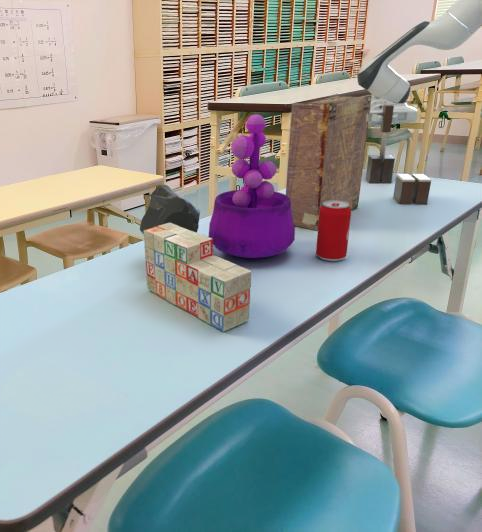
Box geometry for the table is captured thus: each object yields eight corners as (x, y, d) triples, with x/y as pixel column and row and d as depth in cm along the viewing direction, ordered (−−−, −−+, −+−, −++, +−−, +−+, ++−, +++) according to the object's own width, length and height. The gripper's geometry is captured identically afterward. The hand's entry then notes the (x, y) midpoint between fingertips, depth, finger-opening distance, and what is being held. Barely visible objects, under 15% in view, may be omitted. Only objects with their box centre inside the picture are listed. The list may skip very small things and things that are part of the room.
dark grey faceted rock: (213, 259, 114) (214, 178, 107) (188, 286, 101) (187, 197, 94) (154, 251, 120) (151, 174, 113) (123, 276, 107) (118, 191, 100)
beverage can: (348, 254, 113) (355, 201, 108) (342, 264, 108) (349, 209, 103) (318, 250, 116) (324, 198, 111) (312, 260, 111) (317, 205, 106)
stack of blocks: (250, 320, 87) (253, 253, 82) (223, 333, 84) (224, 264, 79) (171, 279, 104) (169, 221, 99) (146, 288, 100) (142, 228, 95)
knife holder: (369, 183, 169) (372, 158, 166) (365, 178, 174) (368, 155, 171) (391, 183, 167) (395, 158, 164) (386, 179, 173) (390, 154, 170)
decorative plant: (258, 275, 105) (267, 122, 93) (191, 253, 118) (190, 116, 106) (309, 250, 116) (322, 111, 105) (242, 233, 129) (247, 107, 117)
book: (326, 202, 151) (337, 93, 139) (358, 207, 145) (372, 94, 133) (283, 224, 134) (291, 103, 122) (317, 231, 128) (329, 104, 116)
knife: (379, 161, 166) (386, 106, 160) (375, 158, 171) (382, 104, 164) (387, 161, 166) (394, 106, 159) (383, 158, 170) (390, 104, 164)
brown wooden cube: (393, 197, 152) (396, 173, 150) (419, 197, 151) (423, 173, 148) (399, 204, 146) (403, 179, 143) (427, 204, 145) (431, 179, 142)
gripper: (345, 104, 176) (353, 109, 163) (411, 102, 172) (424, 107, 159) (344, 124, 178) (351, 130, 166) (408, 122, 174) (421, 128, 162)
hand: (387, 118), depth 162 cm, fingers closed on knife, 2 cm apart
